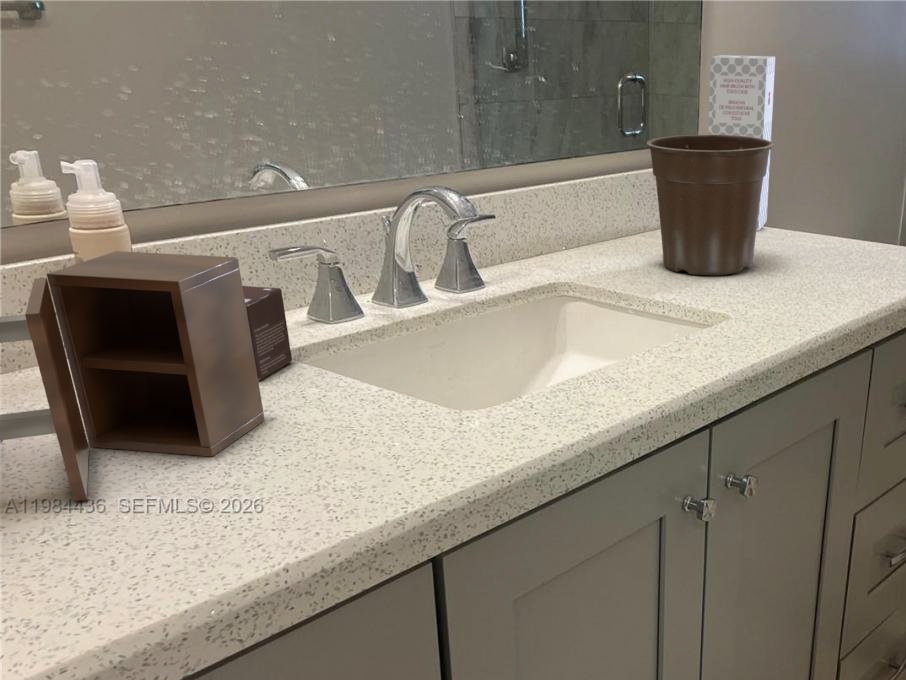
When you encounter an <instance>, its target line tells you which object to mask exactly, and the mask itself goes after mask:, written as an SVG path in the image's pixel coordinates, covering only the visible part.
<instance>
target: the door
mask: <svg viewBox="0 0 906 680" xmlns="http://www.w3.org/2000/svg"><path fill="white" fill-rule="evenodd" d="M24 341H25V342H26V341H31V342H32V346H33V350H34V354H35V358H36V361H37V365H38V369H39V374H40V377H41V380H42V384H43V385H42V386H43V388H44V392H45V396H46V400H47V403H48V407H49V408H42V409H34V410H27V411H19V412H11V413H3V414H0V442H1V441H7V440H15V439H23V438H31V437H38V436H46V435H53V434H56V437H57V442H58V445H59V449H60V450H59V451H60V453H61V457H62V460H63V466H64V469H65V471H66V472H65V473H66V475H67V476H66V477H67V480H68V483H69V487H70V491H71V495H72V499H73V501H74V502H79V501H80V502H81V501H86V500H88V481H89V480H88V479H89V457H90V456H89V452H90V446H89V442H88V437H87V434H86V430H85V426H84V422H83V418H82V414H81V410H80V406H79V402H78V398H77V394H76V390H75V386H74V382H73V378H72V373H71V369H70V365H69V361H68V357H67V353H66V349H65V345H64V341H63V337H62V333H61V329H60V325H59V321H58V317H57V313H56V309H55V305H54V301H53V297H52V293H51V289H50V284H49V282H48V278H47V277H38V278H37V277H36V278H34V279H33V282H32V287H31V290H30V295H29V298H28V302H27V306H26V310H25V314H16V315H5V316H4V315H3V316H0V344H4V343H12V342H13V343H14V342H24Z"/></svg>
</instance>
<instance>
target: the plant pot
mask: <svg viewBox="0 0 906 680" xmlns="http://www.w3.org/2000/svg"><path fill="white" fill-rule="evenodd" d="M646 147H647V148H648V149H649V151H650V157H651V158H650V159H651V167H652V174H653V176H654V178H655V185H656V194H657V202H658V214H659V215H658V216H659V221H660V222H659V224H660V235H661V236H660V237H661V247H662V261H663V265H664V267H665V268H667V269H668V270H670V271H672V272H676V273H678V272H682V271H685V272H687V274H688V275H697V276H699V275H700V276H710V277H711V276H725V275H731V274H738V273H741V272H742V270H749V269H751V268H752V267H753V264H754V263H753V262H754V254H755V253H754V252H755V244H756V237H757V231H756V229H757V221H758V213H759V205H760V198H761V190H762V182H763V177H764V176H765V175H766V170H767V163H768V156H769V150H770V151H771V150H772V149H773V147H774V142H772V140H771V141H768V140H765V139H760V138H753V137H747V136H734V135H708V134H681V135H671V136H669V135H668V136H662V137H656V138H652V139H650V140H647V142H646Z"/></svg>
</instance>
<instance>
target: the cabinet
mask: <svg viewBox="0 0 906 680" xmlns="http://www.w3.org/2000/svg"><path fill="white" fill-rule="evenodd" d="M46 278H47V281H48V285H49V289H50V293H51V297H52V301H53V305H54V309H55V313H56V317H57V321H58V325H59V329H60V333H61V337H62V341H63V345H64V349H65V353H66V357H67V361H68V365H69V369H70V373H71V377H72V381H73V386H74V390H75V394H76V398H77V402H78V406H79V410H80V414H81V418H82V422H83V426H84V430H85V434H86V438H87V442H88V446H89V448H102V449H113V450H126V451H137V452H152V453H164V454H173V455H176V454H177V455H187V456H188V455H189V456H198V457H199V456H200V457H214V456H215V455H217V454H219V453H220V452H221V451H223V450H224V449H226V448H227V447H228V446H230V445H231V444H233V443H235V441H237V440H238V439H240V438H241V437H242V436H244V435H246V434H247V433H248V432H250V431H251V430H253V429H254V428H256V427H257V426H259V425H260V424H261V423H263V422H265V414H264V413H265V412H264V406H263V402H262V395H261V389H260V382H259V380H258V376H257V370H256V364H255V358H254V352H253V346H252V340H251V334H250V328H249V322H248V316H247V310H246V304H245V298H244V292H243V286H244V285H243V281H242V274H241V269H240V262H239V258H238V257H237V256H236V257H233V256H219V255H218V256H215V255H196V254H178V253H161V252H160V253H159V252H144V251H143V252H141V251H122V250H116V251H113V252H109V253H106V254H103V255H100V256H97V257H93V258H91V259H88V260H85V261H82V262H79V263H75V264H73V265H72V264H71V265H70V266H66V267H62V268H59V269H57V270H54V271H51V272H48V273H46Z"/></svg>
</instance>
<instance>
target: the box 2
mask: <svg viewBox="0 0 906 680" xmlns="http://www.w3.org/2000/svg"><path fill="white" fill-rule="evenodd" d="M709 65H710V67H709V101H708V102H709V103H708V106H709V109H708V134H707V135H734V136H747V137H753V138H760V139H765V140H768V141H771V142H772V129H773V128H772V127H773V109H774V90H775V73H776V72H775V70H776V56H774V55H773V56H771V55H739V54H737V55H736V54H734V55H733V54H731V55H730V54H720V55H715V56H711V57H710V64H709ZM770 166H771V149H770V150H769V156H768V163H767V170H766V175H765V176H764V177H763V182H762V190H761V198H760V205H759V213H758V221H757V229H756V232H759V231H760V230H761V228H763V226H764V225H765V224H766V223H767V222H768V205H769V204H768V203H769V185H770Z"/></svg>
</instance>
